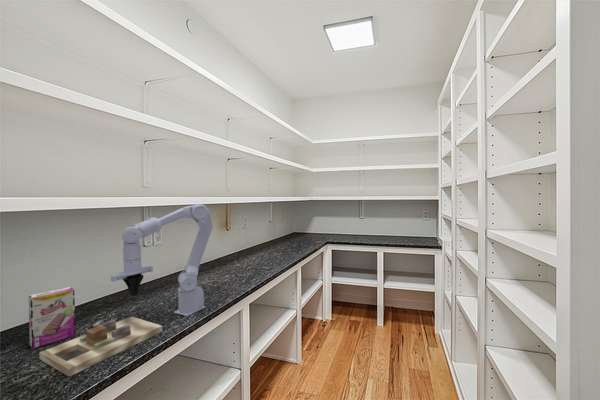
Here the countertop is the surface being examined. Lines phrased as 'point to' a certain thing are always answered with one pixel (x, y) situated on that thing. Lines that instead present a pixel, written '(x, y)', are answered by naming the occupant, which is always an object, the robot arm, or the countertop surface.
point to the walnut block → (96, 335)
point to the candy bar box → (51, 316)
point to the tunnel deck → (99, 345)
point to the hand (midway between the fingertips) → (133, 295)
